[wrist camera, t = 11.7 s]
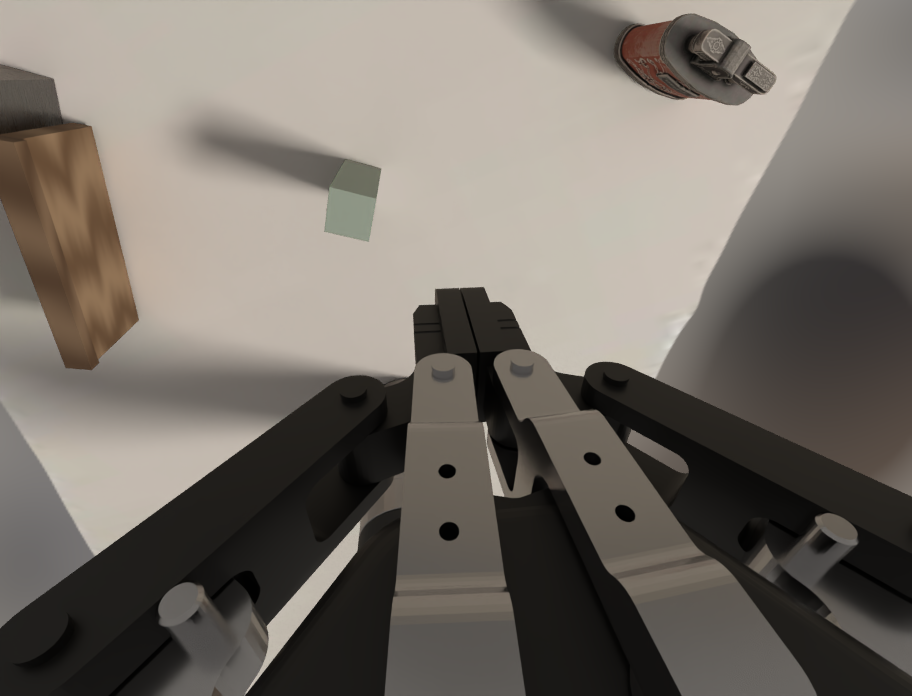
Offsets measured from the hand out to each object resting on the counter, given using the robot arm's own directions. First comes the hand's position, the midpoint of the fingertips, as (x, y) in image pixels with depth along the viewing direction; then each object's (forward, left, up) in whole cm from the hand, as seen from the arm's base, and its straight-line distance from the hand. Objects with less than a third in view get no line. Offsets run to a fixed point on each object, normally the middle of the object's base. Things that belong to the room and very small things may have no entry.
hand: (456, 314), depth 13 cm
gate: (-12, +24, -27) cm, 38 cm away
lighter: (+12, -17, -27) cm, 34 cm away
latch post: (-3, +5, -27) cm, 28 cm away
